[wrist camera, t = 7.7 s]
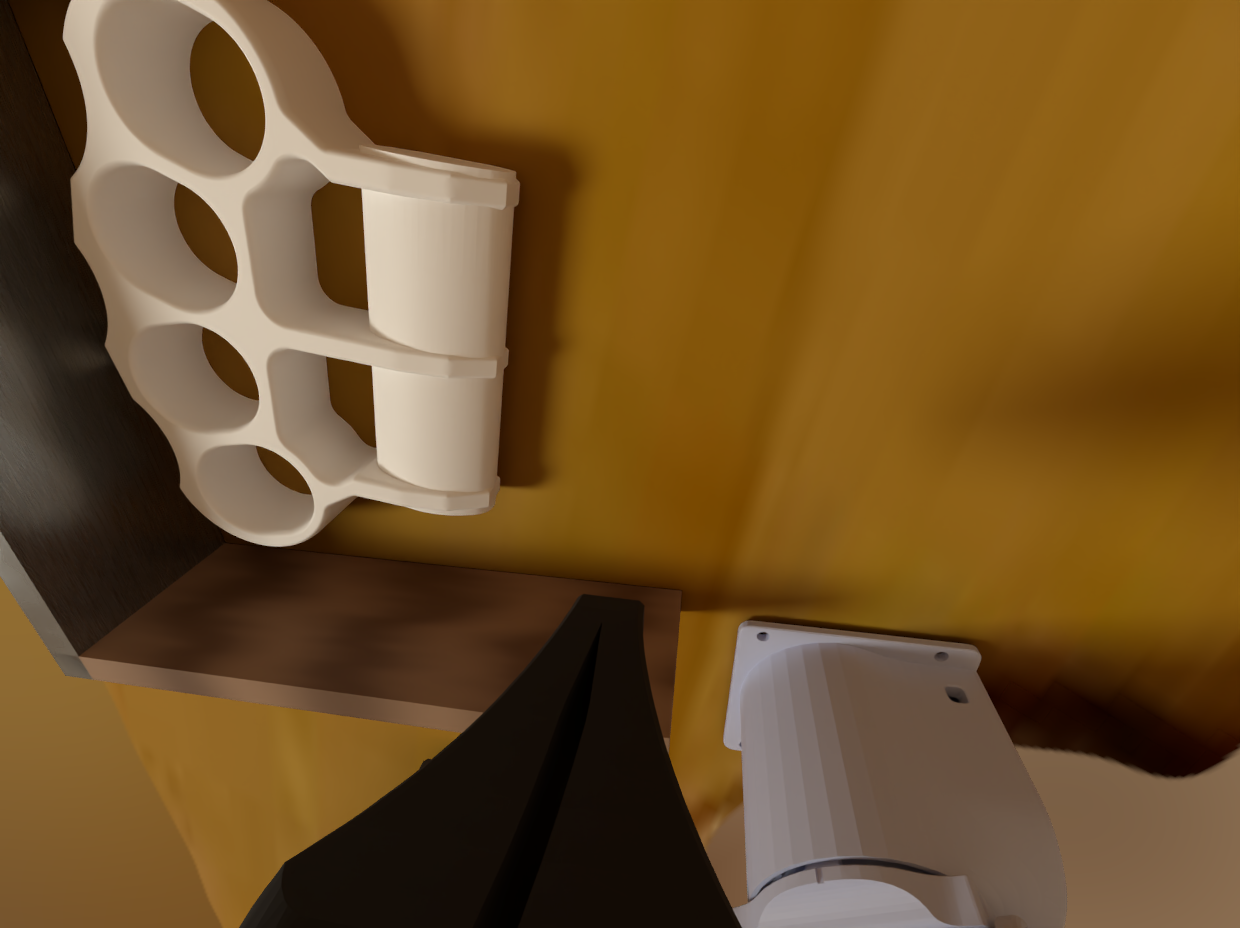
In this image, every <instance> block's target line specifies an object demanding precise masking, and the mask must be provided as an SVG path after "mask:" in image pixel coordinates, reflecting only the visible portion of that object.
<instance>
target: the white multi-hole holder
mask: <svg viewBox="0 0 1240 928" xmlns="http://www.w3.org/2000/svg"><path fill="white" fill-rule="evenodd" d="M212 21H214V22H216V23H217V24H218V25H220V26H221V27H222V28H223V29H224V30H225V31H226V32H227V33H228V34H229V35H230V36H231V37H232V38H233V39H234V41H235V42H236V43H237V44H238V46H239V47H240V48H241V50H242V51H243V53H244V54H245V56H246V58H247V59H248V61H249V63H250V65H251V67H252V69H253V71H254V73H255V75H256V78H257V80H258V83H259V86H260V89H261V93H262V97H263V102H264V108H265V135H264V140H263V144H262V147H261V149H260V152H259V154H258V156H257V157H256V159H255V160H254V161H252V160H250V159H248V158H246V157H244V156H242V155H240V154H239V153H237V152H235V151H234V150H232V149H231V148H230V147H228V146H227V145H226V144H225V143H224V142H223V141H222V140H221V139H220V138H219V137H218V136H217V135H216V134H215V133H214V131H213V130H212V129H211V127H210V126H209V125H208V123H207V122H206V120H205V118H204V117H203V115H202V113H201V111H200V109H199V106H198V104H197V102H196V99H195V96H194V93H193V89H192V84H191V78H190V56H191V50H192V47H193V44H194V41H195V39H196V37H197V35H198V34H199V32H200V31H201V30H202V29H203V28H204V27H205V26H206V25H207V24H209V23H210V22H212ZM63 41H64V43H65V45H66V47H67V49H68V51H69V54H70V56H71V58H72V61H73V63H74V66H75V68H76V71H77V74H78V77H79V80H80V83H81V87H82V91H83V95H84V100H85V106H86V113H87V141H86V148H85V152H84V156H83V158H82V161H81V163H80V166H79V167H78V169H77V171H76V172H75V174H74V175H73V176H72V177H71V179H70V181H71V198H72V214H73V231H74V243H75V245H76V246H77V247H78V249H79V250H80V251H81V253H82V254H83V256H84V258H85V259H86V261H87V262H88V264H89V266H90V268H91V270H92V271H93V273H94V275H95V277H96V280H97V282H98V284H99V287H100V289H101V292H102V295H103V298H104V302H105V306H106V311H107V320H108V329H107V337H106V341H105V347H106V349H107V351H108V353H109V355H110V357H111V359H112V361H113V362H114V364H115V366H116V368H117V370H118V372H119V374H120V376H121V378H122V380H123V382H124V383H125V385H126V387H127V389H128V391H129V393H130V395H131V397H132V399H133V400H135V401H136V402H137V403H138V404H139V405H140V406H141V407H142V408H143V409H144V410H145V411H146V412H147V413H148V414H149V415H150V416H151V417H152V418H153V419H154V421H155V422H156V423H157V424H158V426H159V427H160V428H161V430H162V431H163V433H164V434H165V436H166V437H167V439H168V441H169V443H170V445H171V447H172V449H173V451H174V453H175V456H176V459H177V462H178V465H179V471H180V489H181V490H182V492H183V493H184V494H185V496H186V497H187V498H188V499H189V501H190V502H191V503H192V504H193V505H194V506H195V507H196V508H197V509H198V510H199V511H200V512H201V513H202V514H203V515H204V516H205V517H207V518H208V519H209V520H210V521H212V522H213V523H214V524H216V525H217V526H219V527H220V528H222V529H223V530H225V531H227V532H228V533H230V534H232V535H234V536H236V537H239V538H241V539H243V540H246V541H249V542H252V543H256V544H260V545H265V546H274V547H283V546H291V545H296V544H299V543H302V542H304V541H307V540H309V539H310V538H312V537H314V536H315V535H316V534H318V533H319V532H320V531H321V530H322V529H323V528H324V527H325V526H326V525H327V524H328V523H330V522H331V521H332V520H333V519H334V518H335V517H336V516H337V515H338V514H339V513H340V512H341V511H343V510H344V509H345V508H346V507H347V506H348V505H349V504H350V503H351V502H352V501H353V500H354V499H355V498H357V497H358V496H359V497H364V498H368V499H372V500H377V501H381V502H386V503H390V504H395V505H399V506H405V507H408V508H411V509H414V510H418V511H422V512H427V513H432V514H440V515H476V514H482V513H485V512H487V511H489V510H491V509H492V508H493V507H494V505H495V499H496V495H497V493H498V492H499V490H500V477H498V476H497V468H498V453H499V437H500V421H501V406H502V390H503V374H504V368H506V367H507V365H508V356H509V350H508V349H507V348H506V347H505V343H506V327H507V311H508V296H509V280H510V264H511V248H512V233H513V217H514V207H516V206H517V205H518V203H519V192H520V182H519V181H518V180H517V179H516V171H513V170H510V169H505V168H501V167H497V166H493V165H488V164H483V163H478V162H472V161H467V160H462V159H456V158H451V157H446V156H441V155H435V154H430V153H425V152H419V151H413V150H407V149H401V148H394V147H388V146H380V145H375V144H374V143H373V142H372V141H371V140H370V139H369V138H368V137H367V136H366V135H365V134H364V133H363V132H362V131H361V130H360V129H359V128H358V127H357V126H356V125H355V124H354V123H353V122H352V121H351V120H350V118H349V117H348V115H347V113H346V110H345V107H344V103H343V100H342V96H341V94H340V91H339V88H338V85H337V83H336V81H335V78H334V76H333V74H332V72H331V70H330V68H329V66H328V64H327V63H326V61H325V59H324V57H323V56H322V54H321V53H320V51H319V50H318V48H317V47H316V45H315V44H314V43H313V41H312V40H311V39H310V37H309V36H308V35H307V34H306V33H305V32H304V30H303V29H302V28H301V27H300V26H299V25H298V24H297V23H296V22H295V21H294V20H293V19H292V18H291V17H289V16H288V15H287V14H286V13H285V12H283V11H282V10H281V9H279V8H278V7H277V6H275V5H274V4H272V3H270V2H269V1H267V0H71V2H70V4H69V7H68V10H67V14H66V18H65V23H64V29H63ZM329 181H330V182H332V183H336V184H341V185H346V186H351V187H356V188H362V203H363V221H364V239H365V256H366V274H367V291H368V308H369V311H368V310H363V309H358V308H353V307H349V306H344V305H340V304H337V303H335V302H334V301H332V300H331V299H330V298H329V297H328V296H327V295H326V294H325V293H324V292H323V290H322V288H321V286H320V283H319V280H318V272H317V262H316V252H315V242H314V232H313V222H312V212H311V200H312V197H313V195H314V193H315V192H316V191H317V190H319V189H321V188H322V187H324V186H325V185H326V184H327V183H328V182H329ZM178 183H180V184H182V185H184V186H186V187H187V188H189V189H191V190H192V191H193V192H195V193H196V194H197V195H199V196H200V197H201V198H202V199H203V200H204V201H205V202H206V203H207V204H208V205H209V206H210V207H211V208H212V209H213V211H214V212H215V213H216V214H217V216H218V217H219V219H220V220H221V221H222V223H223V225H224V226H225V228H226V230H227V232H228V234H229V236H230V238H231V241H232V243H233V246H234V249H235V253H236V257H237V263H238V280H237V284H236V283H234V282H232V281H230V280H228V279H226V278H224V277H222V276H220V275H218V274H217V273H215V272H213V271H212V270H211V269H209V268H208V267H207V266H206V265H204V264H203V263H202V262H201V261H200V260H199V259H198V258H197V257H196V256H195V254H194V253H193V252H192V251H191V249H190V248H189V246H188V245H187V243H186V242H185V240H184V238H183V236H182V234H181V232H180V229H179V227H178V224H177V220H176V216H175V210H174V195H175V190H176V187H177V184H178ZM203 327H205V328H207V329H210V330H211V331H213V332H215V333H217V334H218V335H220V336H221V337H223V338H224V339H225V340H227V341H228V342H229V343H230V344H231V345H232V346H233V347H234V348H235V349H236V350H237V351H238V352H239V353H240V354H241V356H242V357H243V358H244V359H245V361H246V362H247V364H248V365H249V367H250V369H251V371H252V373H253V375H254V377H255V380H256V383H257V386H258V391H259V401H257V400H253V399H250V398H247V397H245V396H242V395H240V394H239V393H237V392H235V391H234V390H232V389H231V388H230V387H228V386H227V385H226V384H225V383H224V382H223V381H222V380H221V379H220V378H219V377H218V376H217V374H216V373H215V372H214V370H213V369H212V367H211V366H210V364H209V362H208V360H207V358H206V355H205V353H204V349H203V345H202V330H203ZM326 356H327V357H332V358H336V359H341V360H347V361H351V362H356V363H361V364H366V365H370V366H372V377H373V394H374V411H375V428H376V445H377V448H374V447H371V446H369V445H367V444H366V443H364V442H363V441H362V440H361V439H360V437H359V436H358V434H357V433H356V432H355V431H354V429H353V428H352V427H351V426H350V425H349V424H348V423H347V422H346V421H345V420H344V419H342V418H341V417H340V416H339V415H338V414H337V413H336V412H335V411H334V409H333V408H332V405H331V402H330V392H329V382H328V372H327V362H326ZM256 446H260V447H263V448H266V449H269V450H271V451H273V452H275V453H277V454H278V455H280V456H282V457H283V458H284V459H286V460H287V461H288V462H290V463H291V464H292V465H293V466H294V467H295V468H296V469H297V470H298V471H299V472H300V474H301V475H302V476H303V478H304V479H305V480H306V482H307V484H308V486H309V488H310V490H311V492H312V495H308V494H302V493H299V492H296V491H293V490H291V489H289V488H287V487H285V486H284V485H282V484H281V483H280V482H278V481H277V480H276V479H275V478H274V477H273V476H272V475H271V474H270V473H269V472H268V471H267V470H266V468H265V467H264V465H263V464H262V462H261V460H260V458H259V456H258V453H257V449H256Z"/></svg>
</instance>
